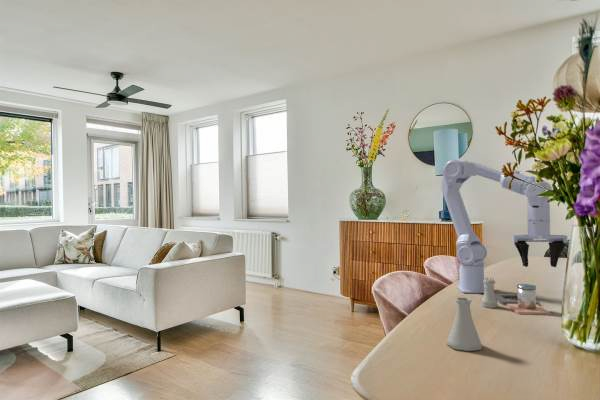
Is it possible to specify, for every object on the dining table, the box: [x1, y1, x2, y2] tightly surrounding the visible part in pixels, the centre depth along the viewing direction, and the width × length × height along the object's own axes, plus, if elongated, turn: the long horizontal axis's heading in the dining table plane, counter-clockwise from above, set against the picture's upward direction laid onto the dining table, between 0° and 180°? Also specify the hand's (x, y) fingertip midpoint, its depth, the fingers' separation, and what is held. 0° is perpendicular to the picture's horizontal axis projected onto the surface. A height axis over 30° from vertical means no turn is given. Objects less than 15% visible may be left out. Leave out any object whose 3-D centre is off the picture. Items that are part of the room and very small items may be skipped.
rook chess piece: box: [480, 277, 499, 309], centre depth 113 cm, size 4×4×8 cm
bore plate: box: [494, 293, 541, 306], centre depth 118 cm, size 10×10×1 cm
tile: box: [506, 304, 551, 316], centre depth 108 cm, size 8×8×1 cm
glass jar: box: [516, 283, 537, 310], centre depth 109 cm, size 5×5×6 cm
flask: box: [446, 296, 483, 352], centre depth 84 cm, size 7×7×10 cm
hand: (539, 266), depth 117 cm, fingers open, 7 cm apart
